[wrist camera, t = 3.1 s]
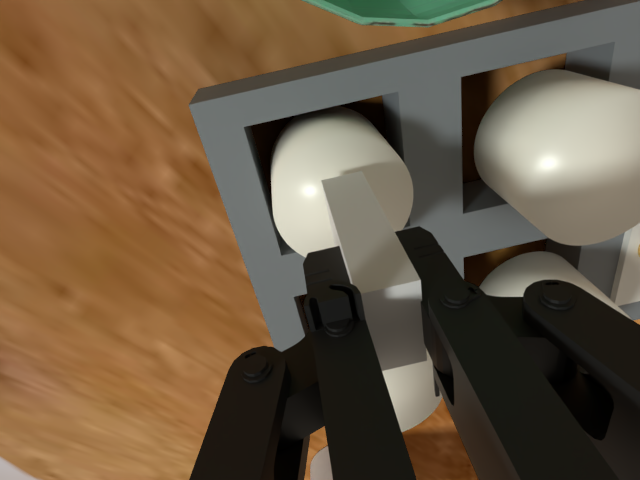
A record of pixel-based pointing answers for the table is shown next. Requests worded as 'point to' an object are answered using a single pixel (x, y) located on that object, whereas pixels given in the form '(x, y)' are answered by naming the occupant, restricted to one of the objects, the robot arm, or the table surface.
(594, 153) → the button
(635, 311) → the board
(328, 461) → the coffee cup
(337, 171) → the button
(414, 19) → the mug
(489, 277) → the button
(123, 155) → the table surface
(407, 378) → the button
